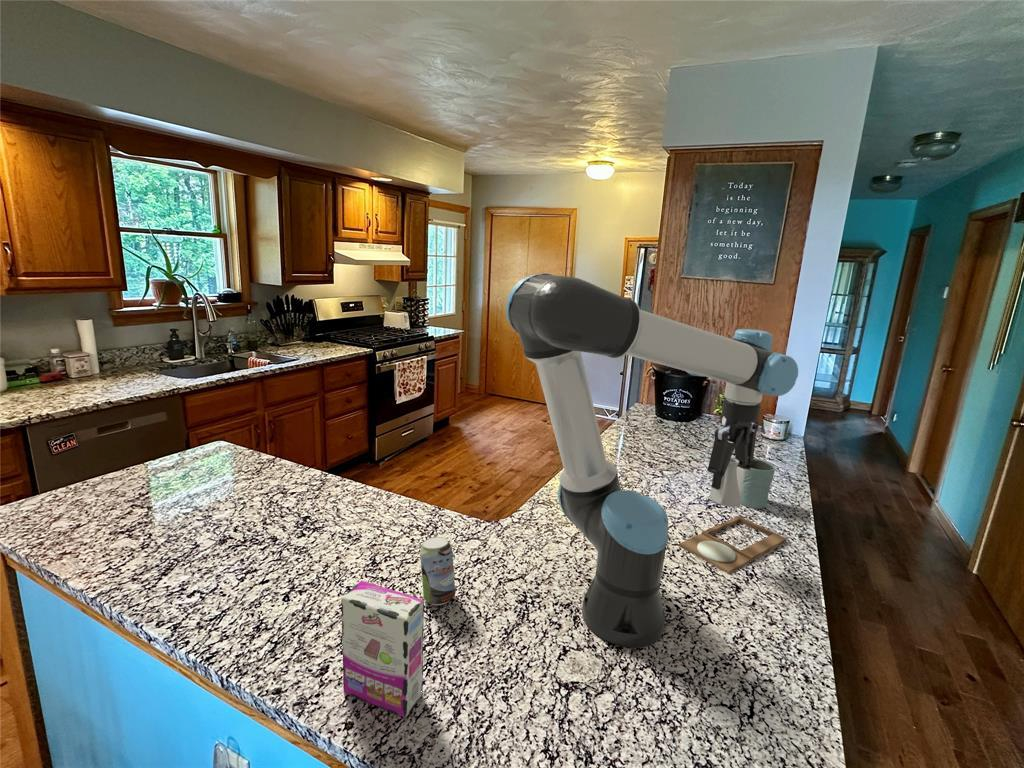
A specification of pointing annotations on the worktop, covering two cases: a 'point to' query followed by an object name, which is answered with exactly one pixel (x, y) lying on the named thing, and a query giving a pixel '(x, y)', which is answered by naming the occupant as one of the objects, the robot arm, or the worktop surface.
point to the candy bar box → (383, 647)
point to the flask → (731, 486)
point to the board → (726, 554)
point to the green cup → (757, 484)
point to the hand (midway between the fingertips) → (725, 497)
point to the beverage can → (437, 570)
